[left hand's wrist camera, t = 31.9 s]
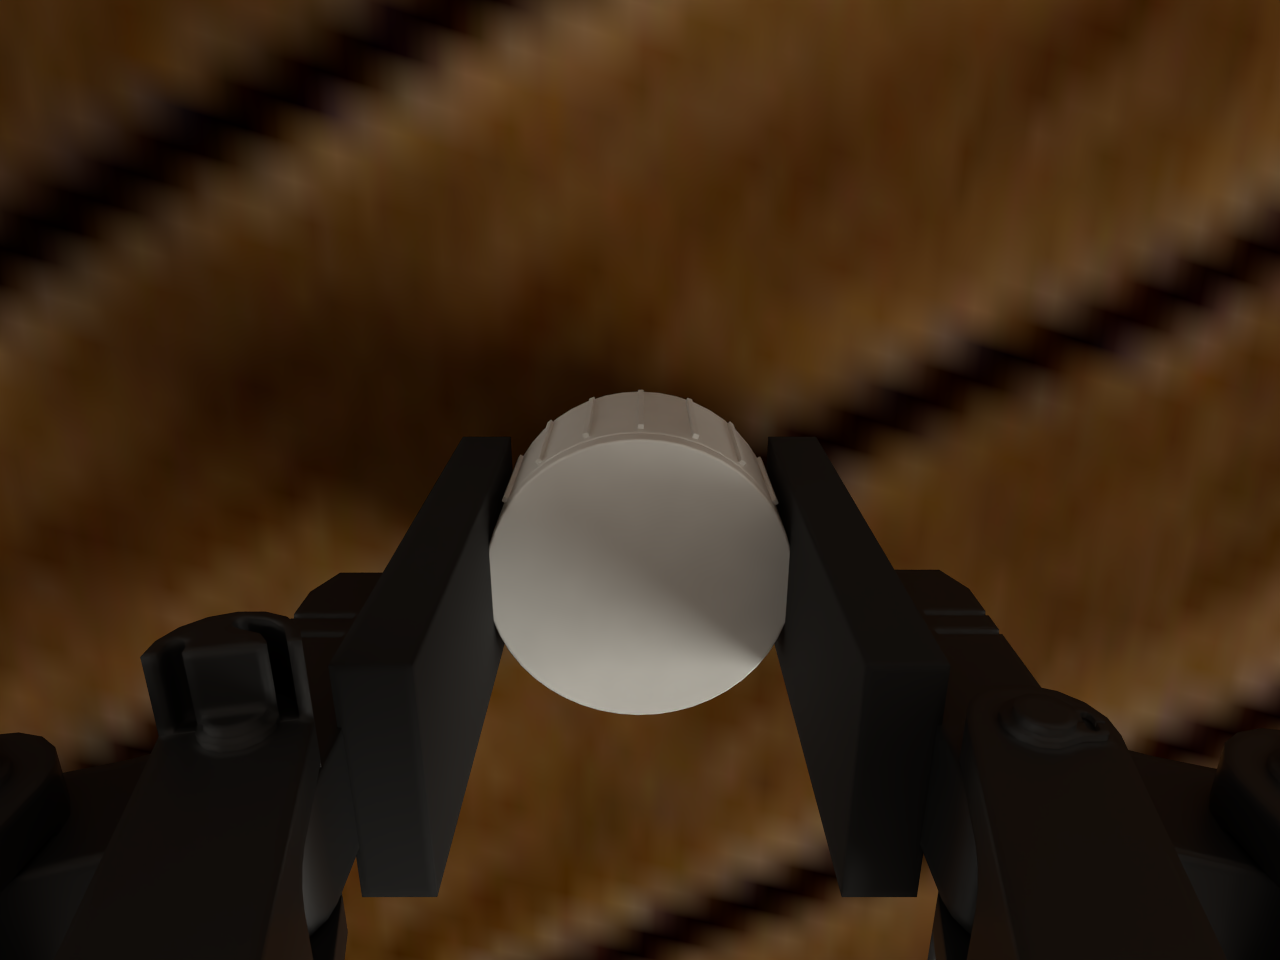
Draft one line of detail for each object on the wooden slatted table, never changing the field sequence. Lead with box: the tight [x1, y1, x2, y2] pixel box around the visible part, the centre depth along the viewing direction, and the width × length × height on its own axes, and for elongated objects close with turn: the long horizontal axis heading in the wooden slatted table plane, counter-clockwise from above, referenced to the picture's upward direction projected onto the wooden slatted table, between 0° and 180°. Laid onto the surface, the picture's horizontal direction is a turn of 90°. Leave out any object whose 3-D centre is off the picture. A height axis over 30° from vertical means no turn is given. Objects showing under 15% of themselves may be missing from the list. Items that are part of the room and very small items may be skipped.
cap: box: [489, 390, 790, 715], centre depth 13 cm, size 4×4×2 cm
